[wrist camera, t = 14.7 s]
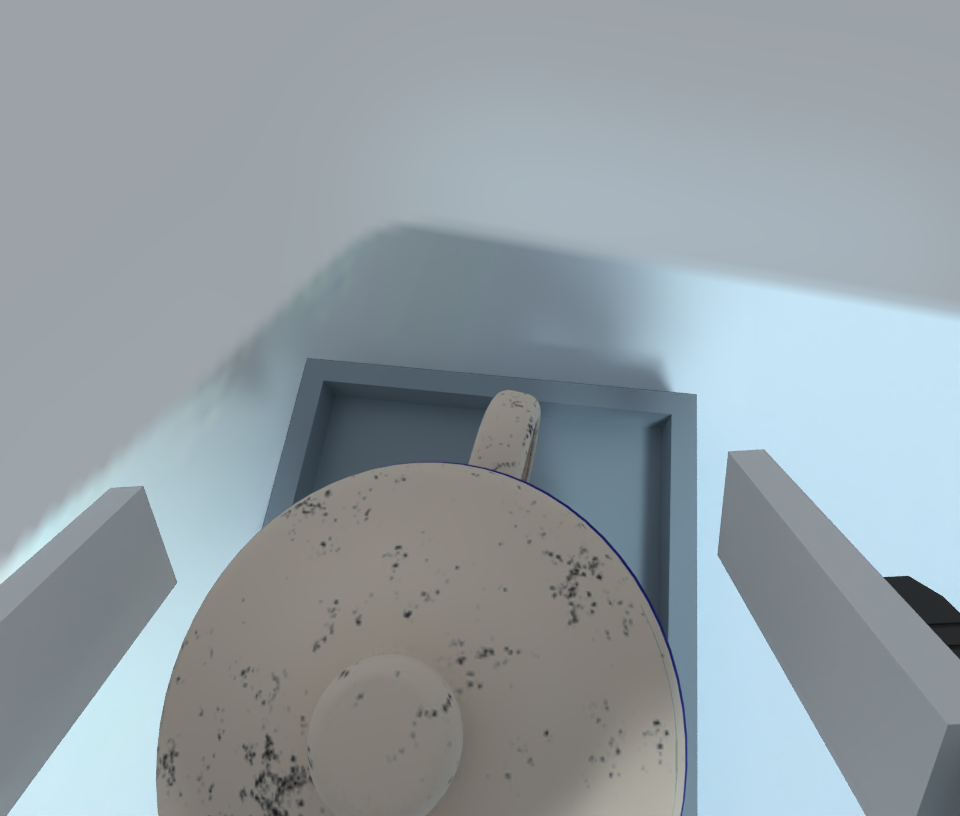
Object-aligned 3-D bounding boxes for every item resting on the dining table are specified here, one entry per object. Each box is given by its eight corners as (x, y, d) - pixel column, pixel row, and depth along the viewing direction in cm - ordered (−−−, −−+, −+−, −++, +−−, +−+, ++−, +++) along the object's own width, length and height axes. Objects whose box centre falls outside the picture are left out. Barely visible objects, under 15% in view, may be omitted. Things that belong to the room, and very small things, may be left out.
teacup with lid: (579, 908, 16) (705, 1496, 5) (273, 799, 17) (-147, 1073, 6) (651, 487, 20) (806, 305, 9) (399, 426, 21) (274, 207, 10)
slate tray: (681, 415, 21) (696, 394, 19) (676, 998, 15) (697, 1047, 14) (324, 380, 23) (306, 357, 21) (195, 901, 17) (154, 934, 15)
